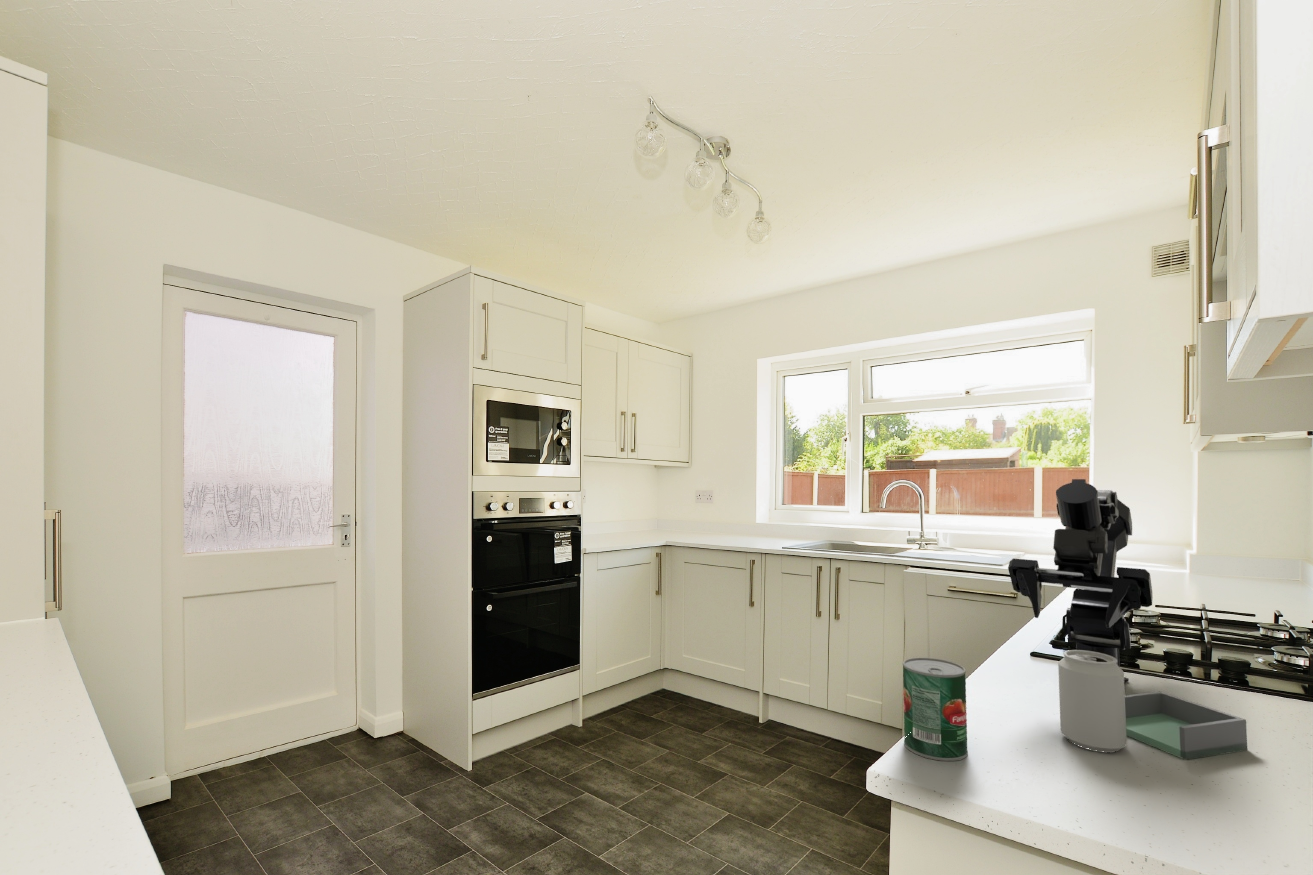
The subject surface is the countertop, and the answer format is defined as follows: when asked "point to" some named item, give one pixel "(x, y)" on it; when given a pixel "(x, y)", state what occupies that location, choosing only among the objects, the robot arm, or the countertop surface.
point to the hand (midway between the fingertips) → (1070, 620)
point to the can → (1092, 700)
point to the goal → (1183, 726)
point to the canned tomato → (935, 708)
